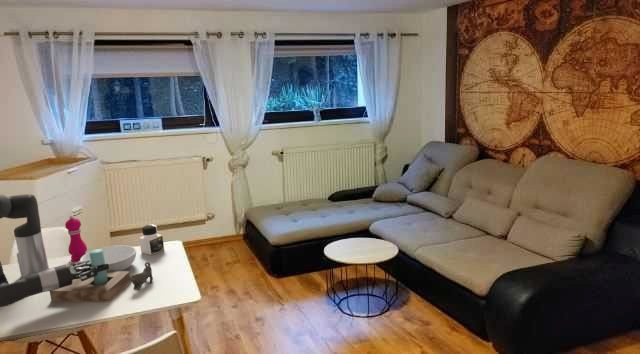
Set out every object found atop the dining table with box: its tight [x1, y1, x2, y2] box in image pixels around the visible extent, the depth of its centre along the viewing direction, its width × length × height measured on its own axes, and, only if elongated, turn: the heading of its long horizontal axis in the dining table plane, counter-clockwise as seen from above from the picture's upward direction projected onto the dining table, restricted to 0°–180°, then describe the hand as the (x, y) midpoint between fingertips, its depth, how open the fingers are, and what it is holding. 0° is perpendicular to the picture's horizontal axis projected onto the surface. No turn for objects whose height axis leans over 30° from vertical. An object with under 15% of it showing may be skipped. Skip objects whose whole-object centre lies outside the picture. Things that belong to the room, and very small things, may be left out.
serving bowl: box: [79, 244, 137, 271], centre depth 193 cm, size 21×21×7 cm
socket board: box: [49, 270, 132, 303], centre depth 176 cm, size 22×16×4 cm
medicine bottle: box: [138, 224, 165, 256], centre depth 210 cm, size 7×7×12 cm
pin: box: [88, 248, 108, 285], centre depth 174 cm, size 5×5×14 cm
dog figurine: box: [130, 261, 154, 291], centre depth 178 cm, size 12×6×7 cm, turn 167°
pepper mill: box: [64, 214, 88, 263], centre depth 205 cm, size 7×7×20 cm
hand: (106, 263), depth 175 cm, fingers closed on pin, 4 cm apart
